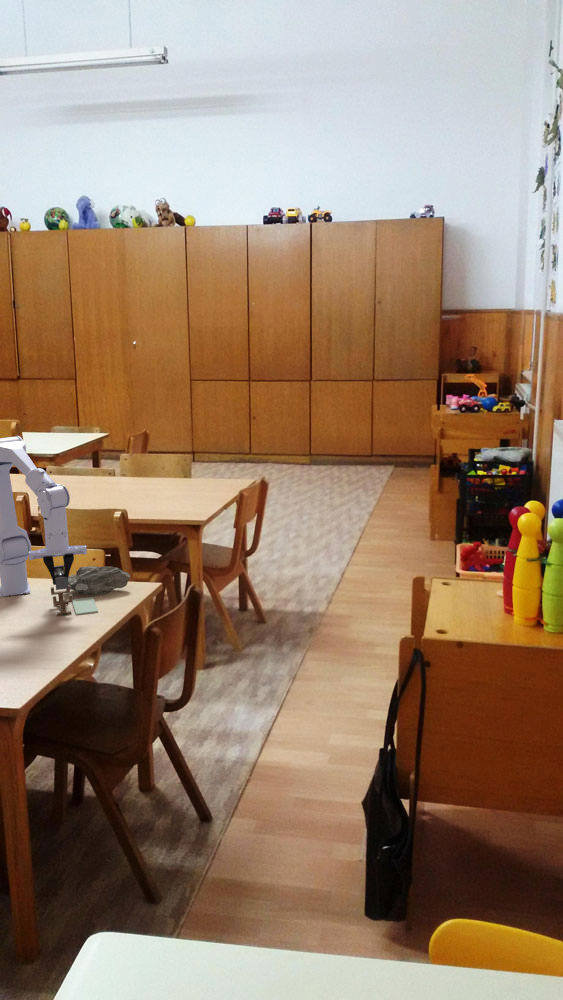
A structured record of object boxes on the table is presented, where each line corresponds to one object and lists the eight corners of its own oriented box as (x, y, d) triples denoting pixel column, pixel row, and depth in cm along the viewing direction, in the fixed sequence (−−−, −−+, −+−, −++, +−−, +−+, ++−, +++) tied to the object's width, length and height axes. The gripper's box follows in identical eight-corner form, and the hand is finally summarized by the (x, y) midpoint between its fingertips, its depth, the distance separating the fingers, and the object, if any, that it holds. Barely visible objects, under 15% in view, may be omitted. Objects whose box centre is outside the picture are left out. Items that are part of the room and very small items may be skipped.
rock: (65, 593, 218) (61, 560, 222) (65, 607, 226) (61, 575, 230) (133, 586, 224) (128, 553, 228) (130, 599, 232) (125, 568, 236)
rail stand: (52, 605, 216) (50, 587, 215) (70, 602, 218) (69, 585, 217) (54, 616, 207) (53, 597, 206) (73, 613, 209) (72, 595, 208)
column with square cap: (52, 577, 216) (52, 566, 215) (64, 575, 217) (63, 565, 216) (56, 590, 205) (55, 578, 204) (68, 588, 206) (67, 577, 205)
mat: (72, 601, 219) (71, 599, 219) (92, 598, 221) (92, 597, 221) (76, 615, 208) (76, 613, 208) (98, 612, 210) (98, 610, 209)
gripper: (27, 539, 202) (32, 590, 205) (86, 533, 207) (90, 583, 209) (26, 532, 209) (31, 583, 211) (83, 527, 213) (87, 576, 216)
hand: (60, 583), depth 211 cm, fingers closed on column with square cap, 2 cm apart
